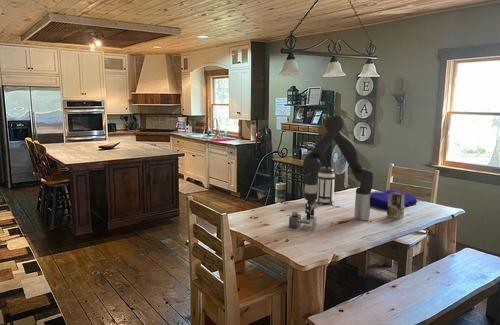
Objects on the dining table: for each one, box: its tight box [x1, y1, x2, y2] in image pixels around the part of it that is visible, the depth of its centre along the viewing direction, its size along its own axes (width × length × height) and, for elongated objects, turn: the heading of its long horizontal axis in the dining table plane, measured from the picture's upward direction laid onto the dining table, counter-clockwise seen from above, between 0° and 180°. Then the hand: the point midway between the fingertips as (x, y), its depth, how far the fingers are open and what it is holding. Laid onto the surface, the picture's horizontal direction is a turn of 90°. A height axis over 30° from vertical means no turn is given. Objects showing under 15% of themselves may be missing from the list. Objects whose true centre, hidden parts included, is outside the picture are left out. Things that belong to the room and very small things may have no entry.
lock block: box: [302, 214, 317, 232], centre depth 226 cm, size 7×5×8 cm
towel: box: [370, 189, 418, 211], centre depth 284 cm, size 26×36×9 cm
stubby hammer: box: [288, 211, 312, 230], centre depth 228 cm, size 12×8×9 cm, turn 65°
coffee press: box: [316, 163, 336, 206], centre depth 281 cm, size 17×16×30 cm
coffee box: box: [386, 192, 405, 220], centre depth 252 cm, size 9×6×16 cm
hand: (310, 217), depth 226 cm, fingers open, 8 cm apart
